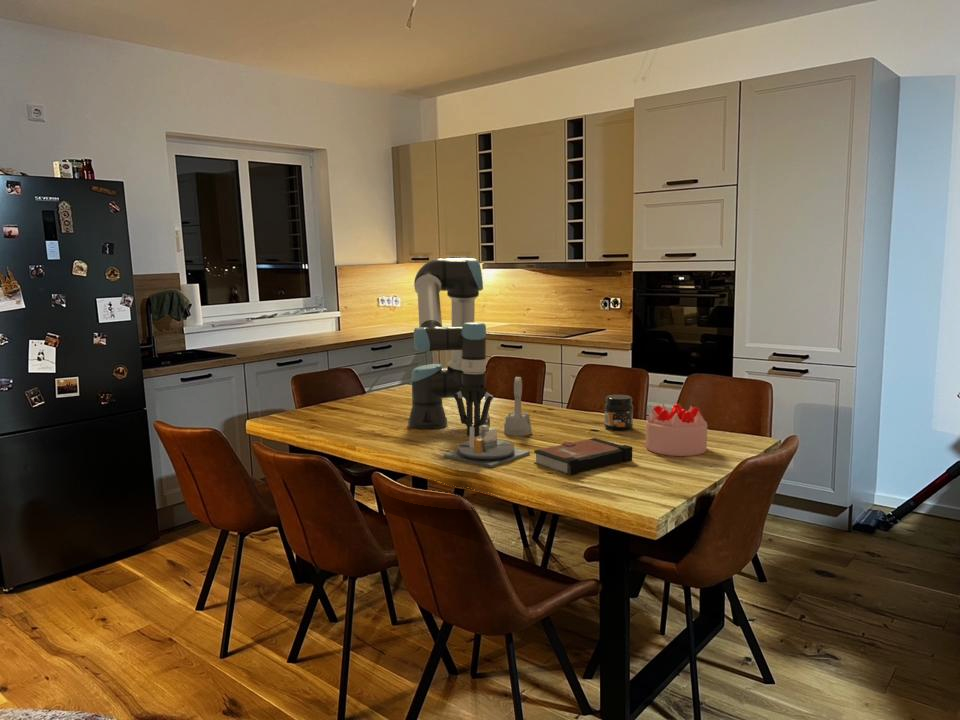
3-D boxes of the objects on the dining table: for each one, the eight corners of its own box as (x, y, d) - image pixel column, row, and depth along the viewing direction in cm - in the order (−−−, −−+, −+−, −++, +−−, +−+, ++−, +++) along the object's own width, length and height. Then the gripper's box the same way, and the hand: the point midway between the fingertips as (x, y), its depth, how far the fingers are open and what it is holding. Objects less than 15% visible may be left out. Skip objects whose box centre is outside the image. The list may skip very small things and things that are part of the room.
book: (593, 450, 243) (593, 436, 243) (632, 462, 229) (632, 446, 229) (532, 464, 228) (532, 448, 228) (570, 477, 214) (570, 460, 214)
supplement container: (600, 429, 271) (600, 398, 269) (609, 424, 280) (609, 393, 278) (628, 432, 266) (628, 400, 264) (636, 426, 275) (636, 395, 273)
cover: (470, 448, 234) (469, 428, 233) (476, 441, 241) (475, 422, 240) (494, 449, 232) (493, 429, 231) (499, 442, 240) (499, 423, 239)
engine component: (502, 435, 264) (529, 436, 262) (501, 379, 262) (529, 380, 260) (507, 428, 275) (533, 429, 273) (506, 374, 272) (533, 375, 270)
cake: (633, 447, 245) (634, 406, 243) (672, 438, 257) (673, 399, 255) (680, 460, 229) (681, 416, 227) (719, 450, 241) (721, 408, 239)
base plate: (443, 456, 236) (443, 454, 236) (483, 444, 251) (483, 441, 251) (490, 468, 223) (490, 464, 223) (529, 454, 238) (529, 451, 238)
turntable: (470, 443, 248) (470, 425, 247) (521, 447, 242) (521, 429, 241) (450, 456, 231) (450, 438, 230) (504, 461, 225) (504, 442, 225)
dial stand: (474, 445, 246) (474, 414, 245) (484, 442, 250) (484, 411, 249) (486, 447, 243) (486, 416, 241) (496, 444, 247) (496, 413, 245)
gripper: (449, 372, 225) (449, 447, 228) (489, 375, 220) (488, 451, 223) (458, 369, 232) (458, 441, 235) (497, 371, 227) (496, 445, 230)
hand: (473, 446), depth 229 cm, fingers closed
